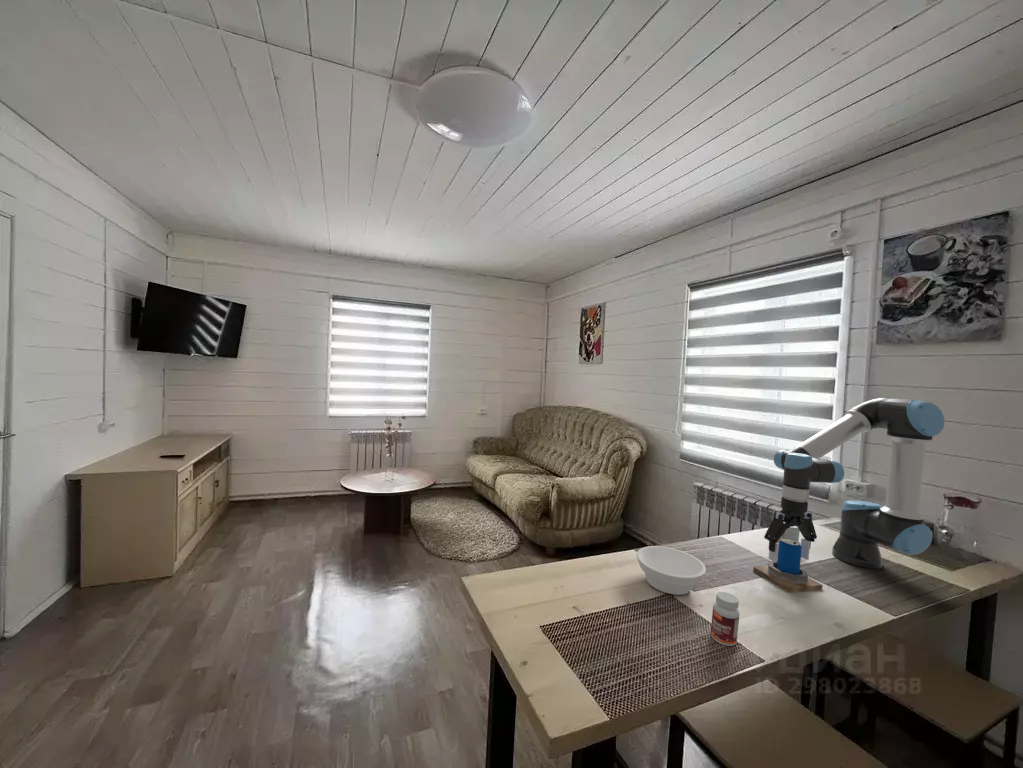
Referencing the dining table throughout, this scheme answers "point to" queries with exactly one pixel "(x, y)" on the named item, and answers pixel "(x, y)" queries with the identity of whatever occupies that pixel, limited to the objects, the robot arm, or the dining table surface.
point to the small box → (791, 533)
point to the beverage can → (789, 556)
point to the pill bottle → (725, 619)
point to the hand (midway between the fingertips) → (788, 559)
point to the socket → (787, 578)
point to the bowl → (670, 569)
